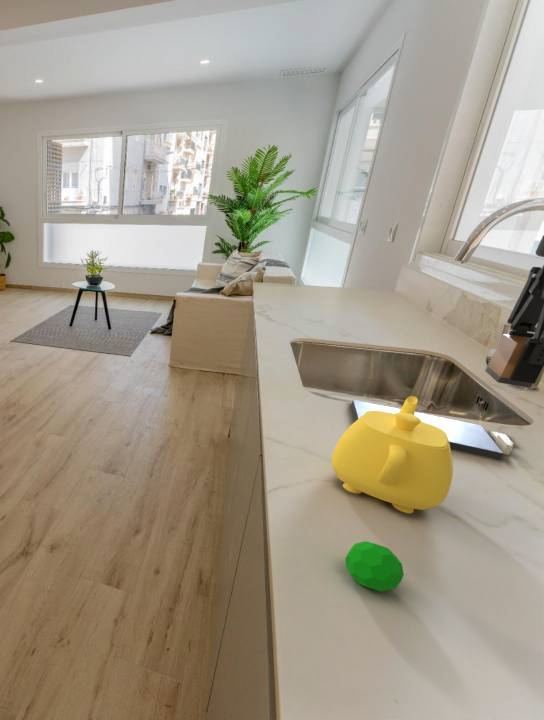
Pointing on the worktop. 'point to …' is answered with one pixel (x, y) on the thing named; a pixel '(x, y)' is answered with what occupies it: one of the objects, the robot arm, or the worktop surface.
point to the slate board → (445, 430)
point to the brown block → (507, 359)
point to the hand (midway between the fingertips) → (513, 373)
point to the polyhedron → (374, 566)
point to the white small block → (503, 444)
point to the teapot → (395, 459)
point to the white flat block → (495, 434)
